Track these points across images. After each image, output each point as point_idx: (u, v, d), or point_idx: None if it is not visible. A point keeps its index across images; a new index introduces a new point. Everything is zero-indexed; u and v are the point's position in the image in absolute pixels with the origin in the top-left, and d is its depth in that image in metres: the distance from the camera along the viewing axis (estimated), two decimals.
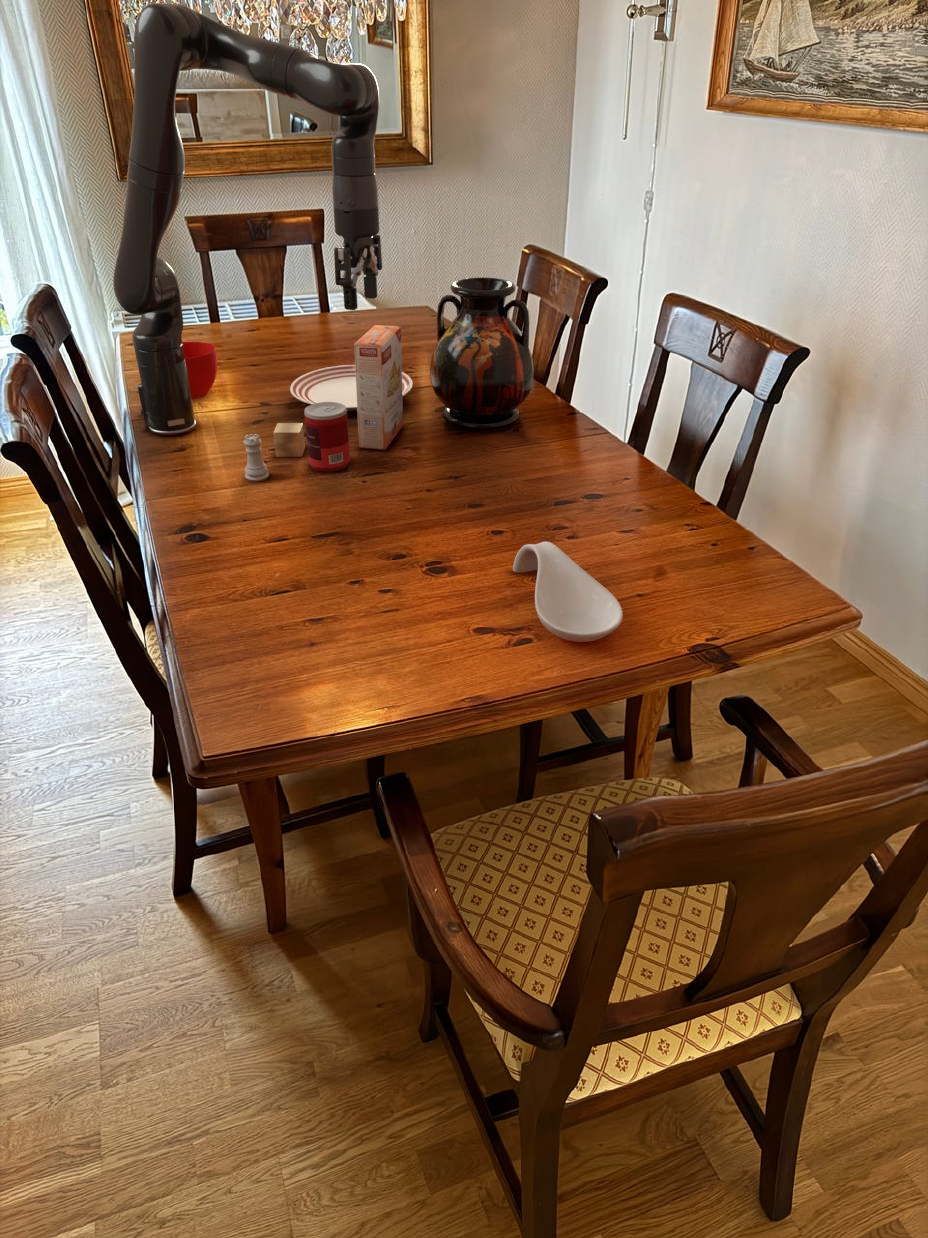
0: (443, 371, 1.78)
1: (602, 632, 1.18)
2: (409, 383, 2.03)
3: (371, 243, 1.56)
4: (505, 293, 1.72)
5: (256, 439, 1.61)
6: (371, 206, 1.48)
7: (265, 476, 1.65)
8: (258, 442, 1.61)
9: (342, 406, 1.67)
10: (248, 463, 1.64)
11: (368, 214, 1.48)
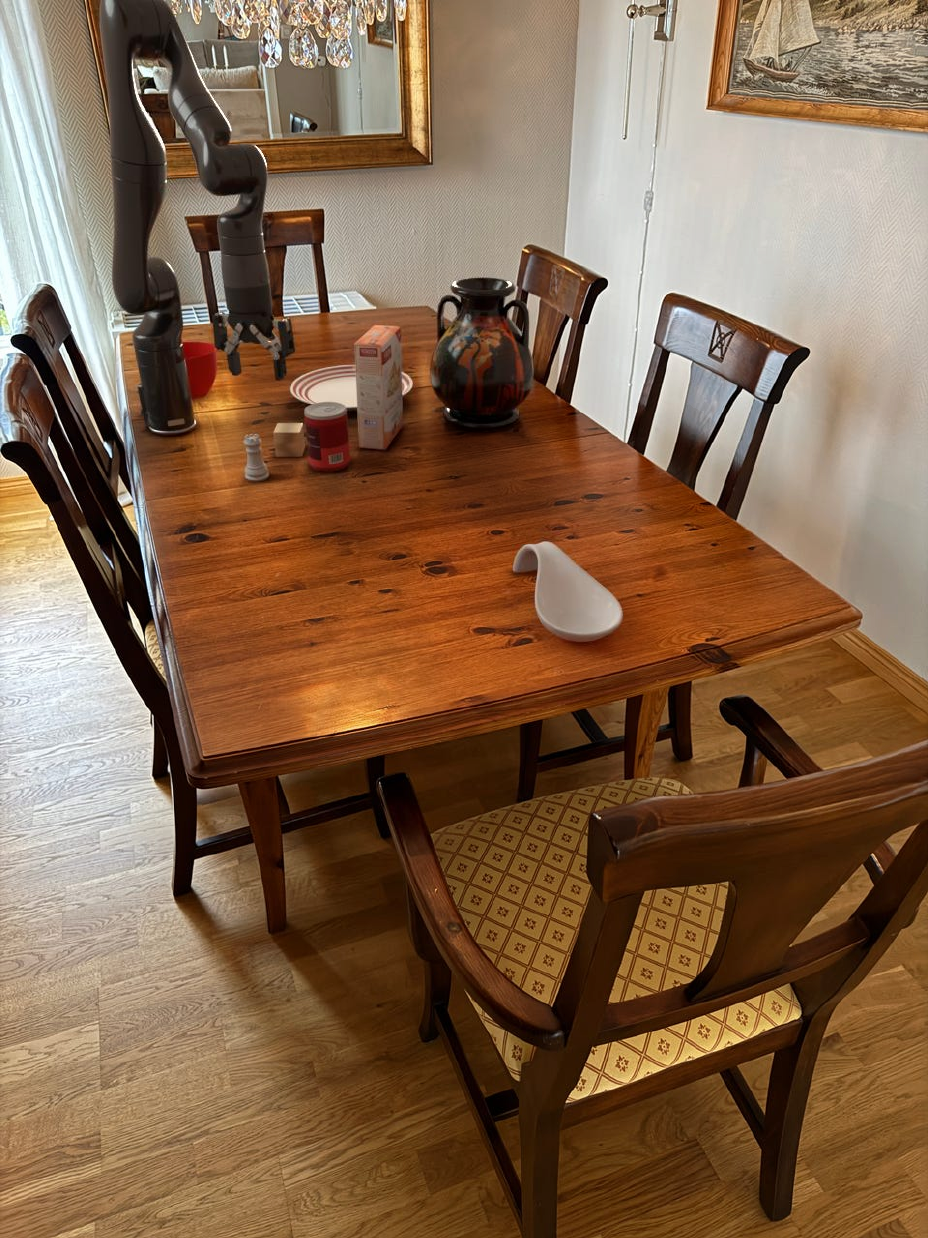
0: (443, 371, 1.78)
1: (602, 632, 1.18)
2: (409, 383, 2.03)
3: (264, 324, 1.50)
4: (505, 293, 1.72)
5: (256, 439, 1.61)
6: (228, 284, 1.46)
7: (265, 476, 1.65)
8: (258, 442, 1.61)
9: (342, 406, 1.67)
10: (248, 463, 1.64)
11: (226, 291, 1.47)
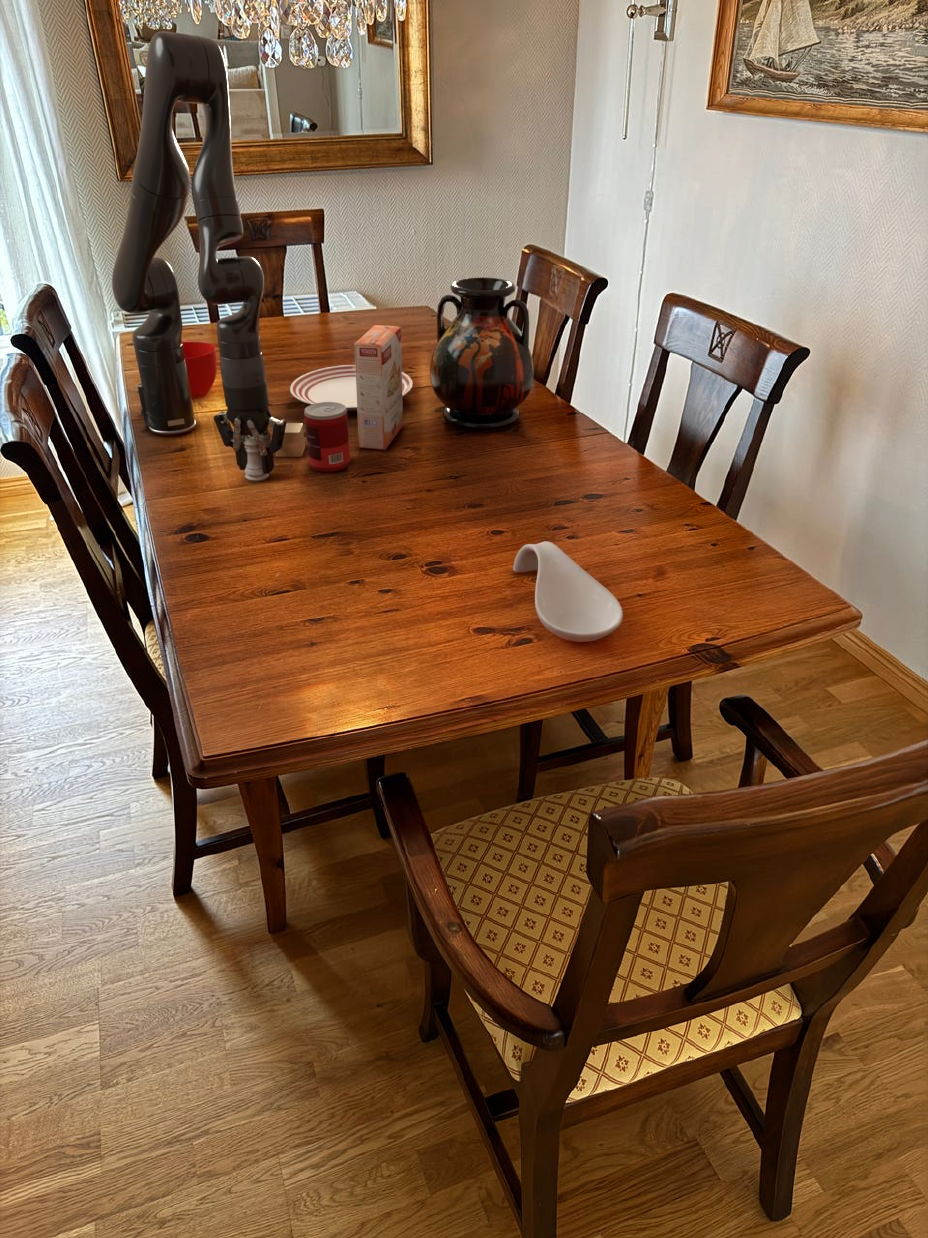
0: (443, 371, 1.78)
1: (602, 632, 1.18)
2: (409, 383, 2.03)
3: (261, 420, 1.58)
4: (505, 293, 1.72)
5: None
6: (226, 384, 1.54)
7: (265, 476, 1.65)
8: None
9: (342, 406, 1.67)
10: (248, 463, 1.64)
11: (225, 390, 1.55)
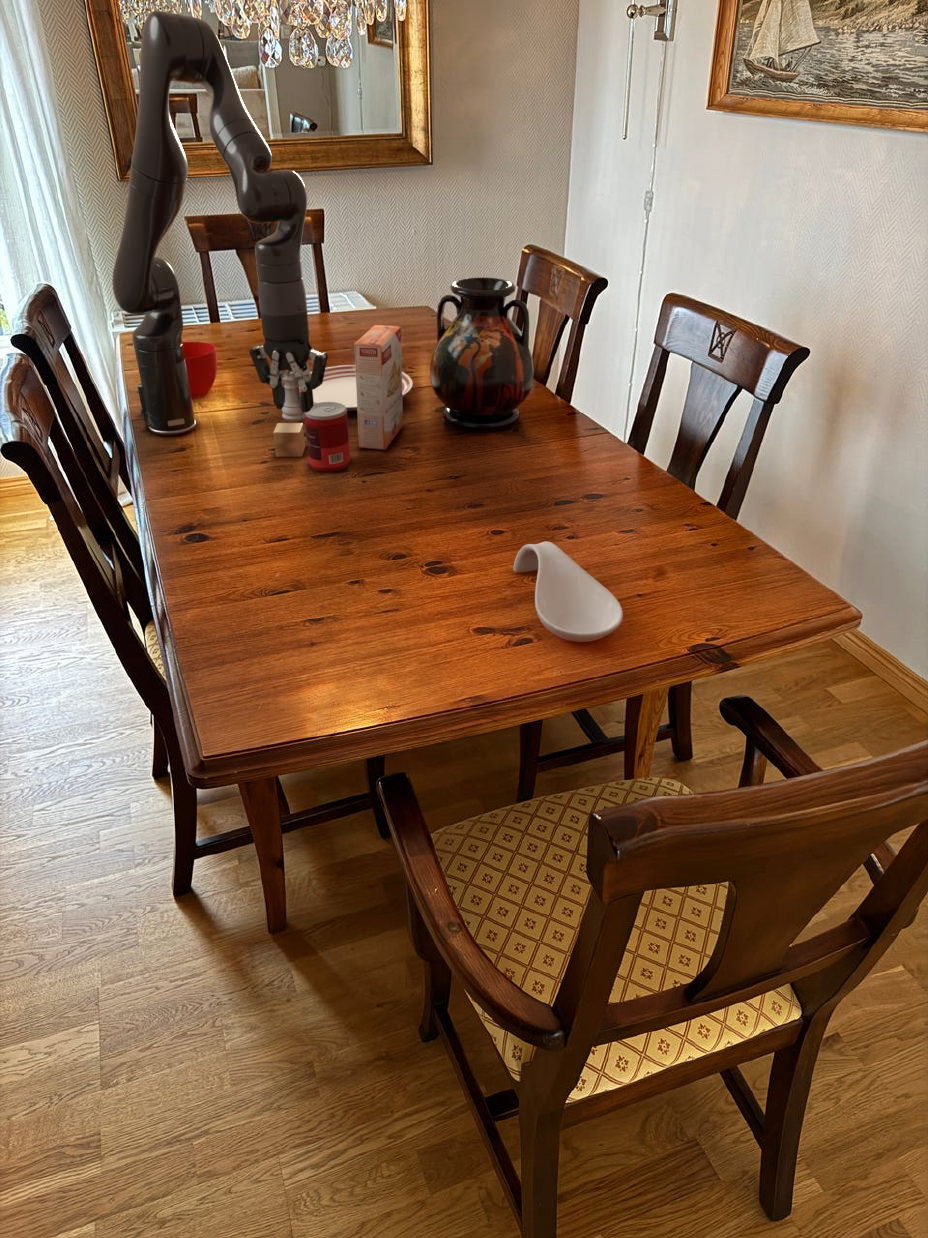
0: (443, 371, 1.78)
1: (602, 632, 1.18)
2: (409, 383, 2.03)
3: (301, 352, 1.47)
4: (505, 293, 1.72)
5: None
6: (265, 312, 1.43)
7: (304, 415, 1.54)
8: None
9: (342, 406, 1.67)
10: (286, 401, 1.53)
11: (263, 318, 1.44)
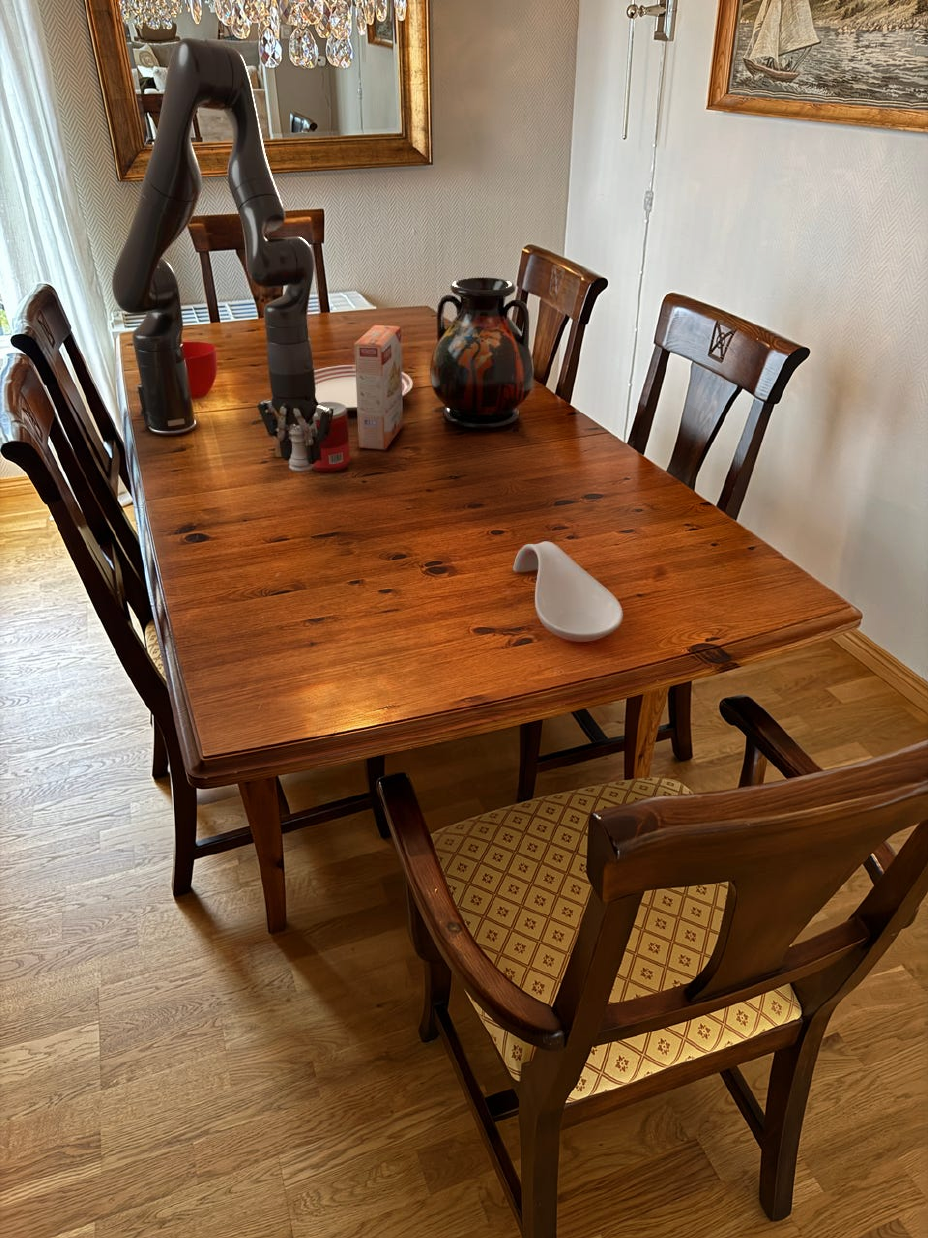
0: (443, 371, 1.78)
1: (602, 632, 1.18)
2: (409, 383, 2.03)
3: (308, 408, 1.52)
4: (505, 293, 1.72)
5: None
6: (273, 371, 1.48)
7: (310, 467, 1.59)
8: None
9: (342, 406, 1.67)
10: (293, 453, 1.58)
11: (271, 376, 1.49)
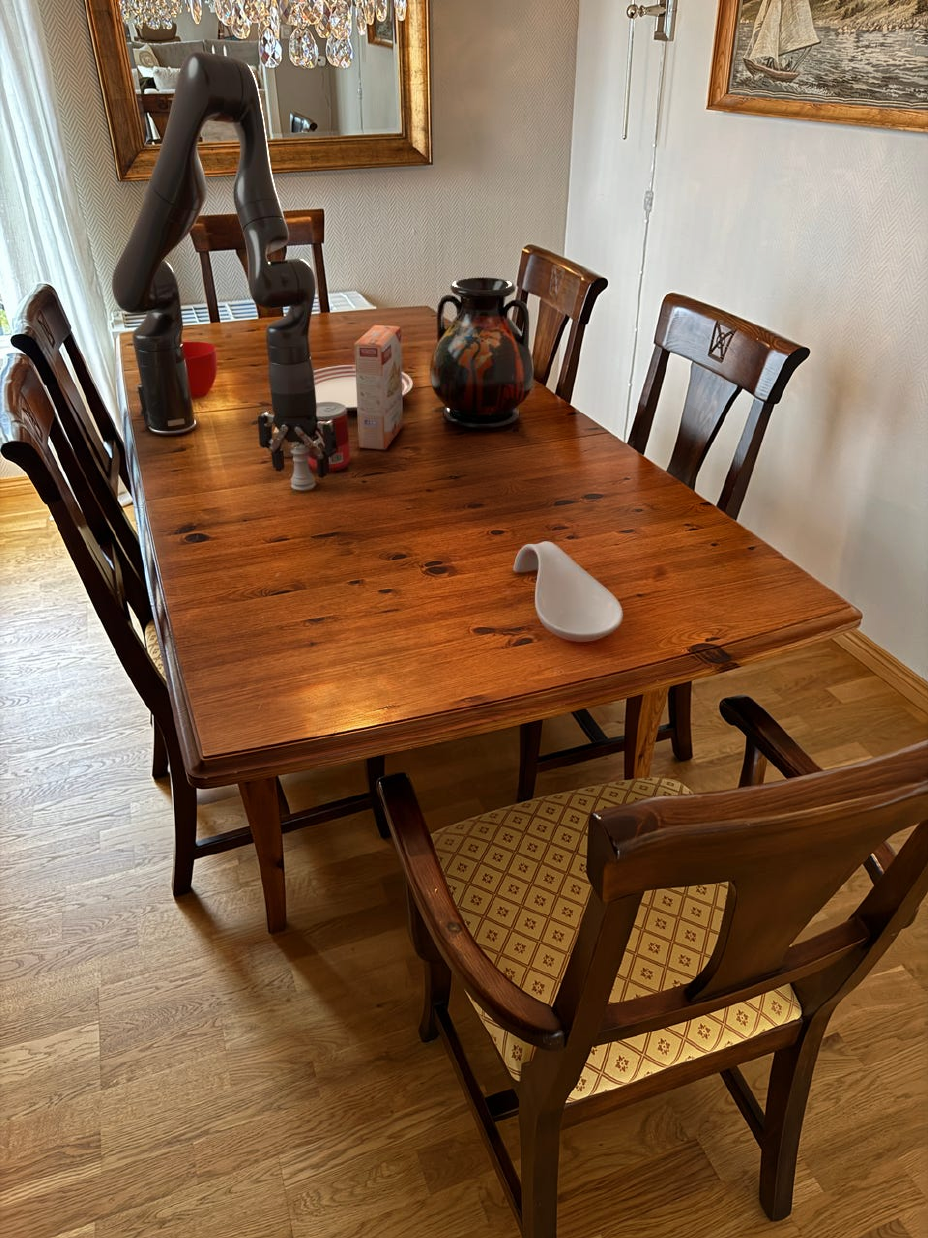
0: (443, 371, 1.78)
1: (602, 632, 1.18)
2: (409, 383, 2.03)
3: (309, 426, 1.54)
4: (505, 293, 1.72)
5: (304, 448, 1.58)
6: (275, 390, 1.50)
7: (312, 486, 1.61)
8: (305, 451, 1.58)
9: (342, 406, 1.67)
10: (295, 472, 1.60)
11: (273, 396, 1.51)
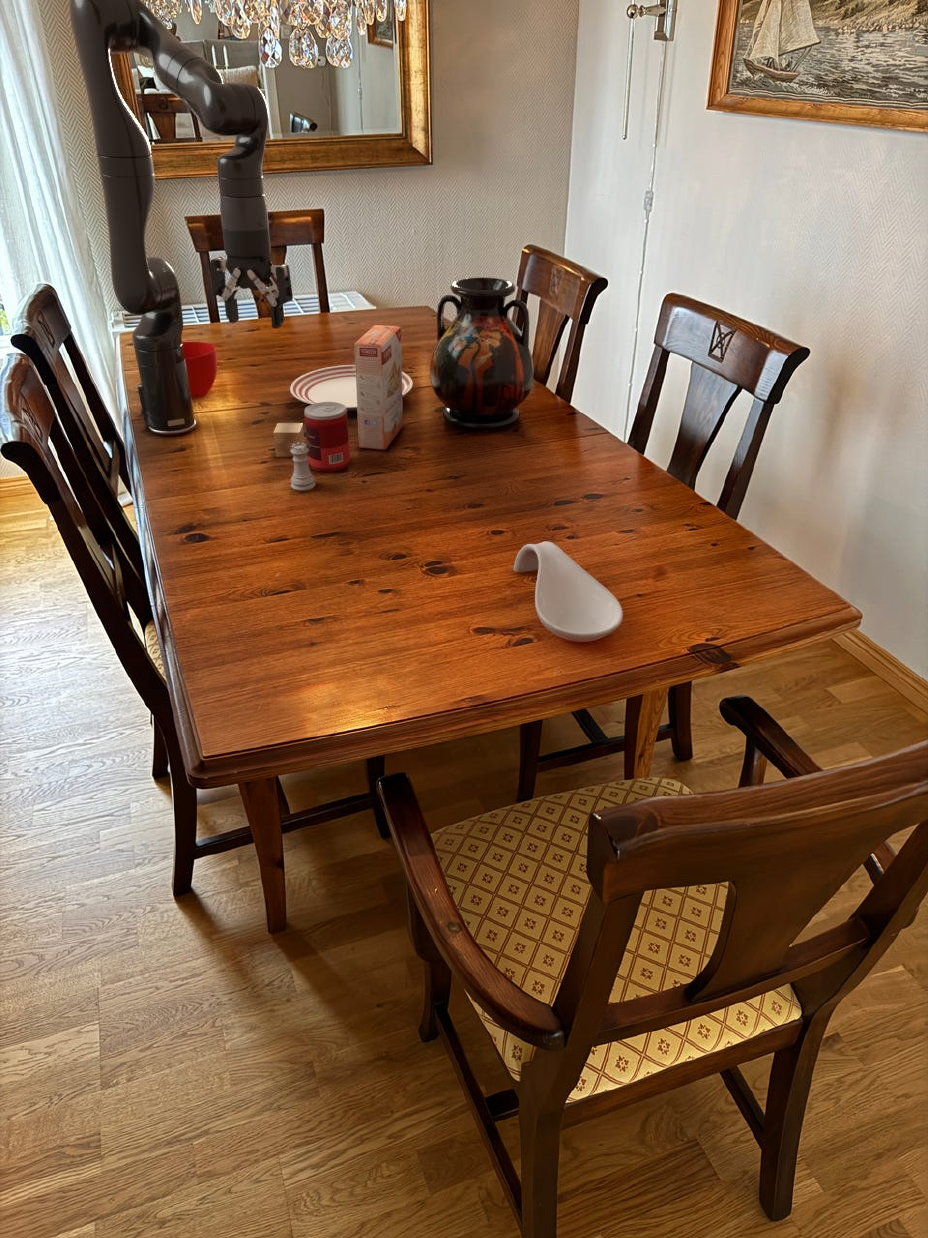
0: (443, 371, 1.78)
1: (602, 632, 1.18)
2: (409, 383, 2.03)
3: (262, 270, 1.49)
4: (505, 293, 1.72)
5: (304, 448, 1.58)
6: (226, 227, 1.45)
7: (312, 486, 1.61)
8: (306, 451, 1.58)
9: (342, 406, 1.67)
10: (295, 472, 1.60)
11: (224, 234, 1.46)
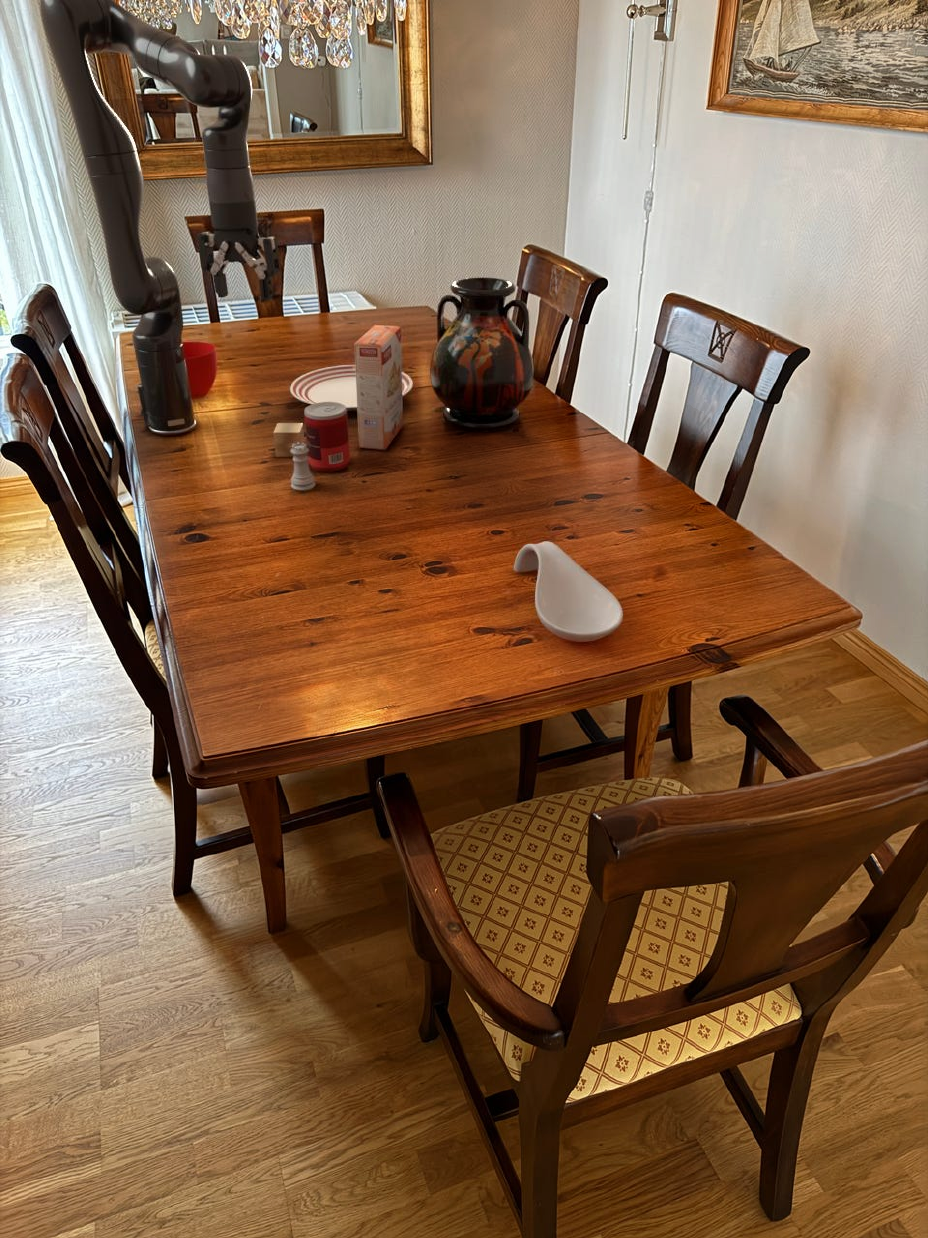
0: (443, 371, 1.78)
1: (602, 632, 1.18)
2: (409, 383, 2.03)
3: (250, 242, 1.50)
4: (505, 293, 1.72)
5: (304, 448, 1.58)
6: (213, 199, 1.46)
7: (312, 486, 1.61)
8: (306, 451, 1.58)
9: (342, 406, 1.67)
10: (295, 472, 1.60)
11: (211, 207, 1.47)
